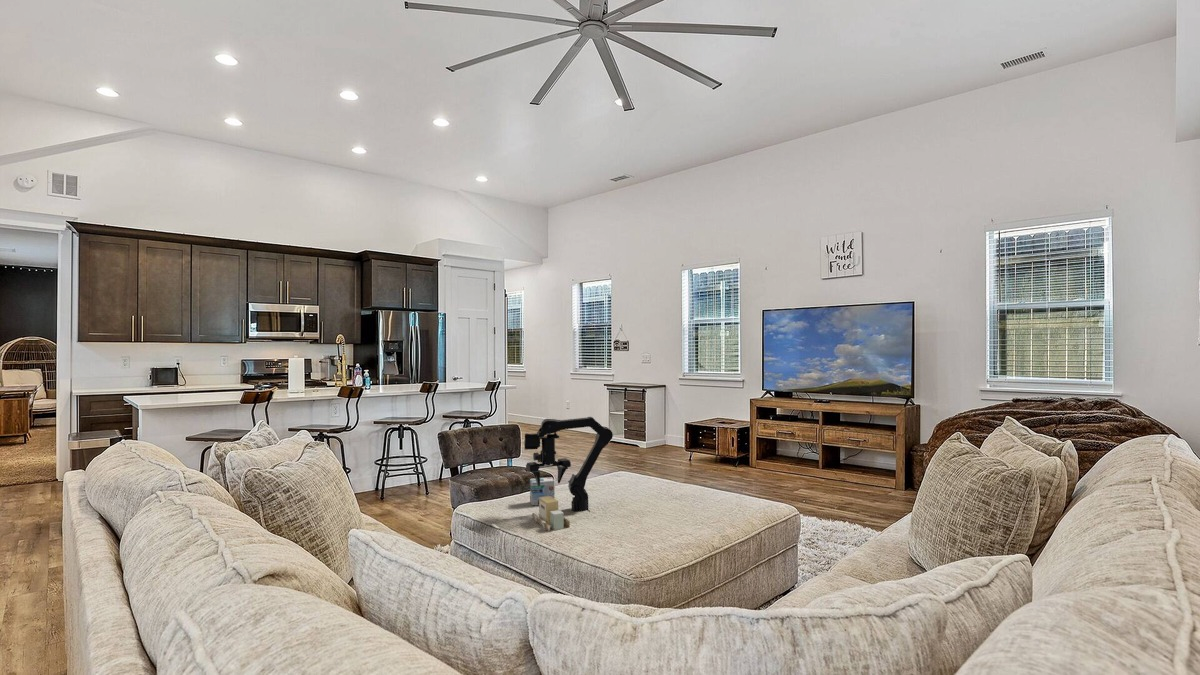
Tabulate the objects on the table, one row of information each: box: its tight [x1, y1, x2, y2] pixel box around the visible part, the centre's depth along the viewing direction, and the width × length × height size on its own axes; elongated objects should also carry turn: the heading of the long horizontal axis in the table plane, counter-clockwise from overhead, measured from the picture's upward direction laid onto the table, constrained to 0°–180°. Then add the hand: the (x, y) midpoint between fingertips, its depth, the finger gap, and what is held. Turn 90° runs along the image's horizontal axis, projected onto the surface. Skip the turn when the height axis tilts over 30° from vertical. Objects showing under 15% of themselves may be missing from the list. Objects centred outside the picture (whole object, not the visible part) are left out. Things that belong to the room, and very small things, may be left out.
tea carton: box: [538, 496, 559, 525], centre depth 243 cm, size 8×5×9 cm, turn 27°
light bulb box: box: [529, 476, 556, 507], centre depth 271 cm, size 11×7×11 cm, turn 105°
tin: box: [550, 509, 565, 531], centre depth 235 cm, size 4×4×6 cm
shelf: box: [531, 512, 571, 532], centre depth 241 cm, size 18×9×4 cm, turn 26°
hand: (548, 484), depth 256 cm, fingers open, 9 cm apart
